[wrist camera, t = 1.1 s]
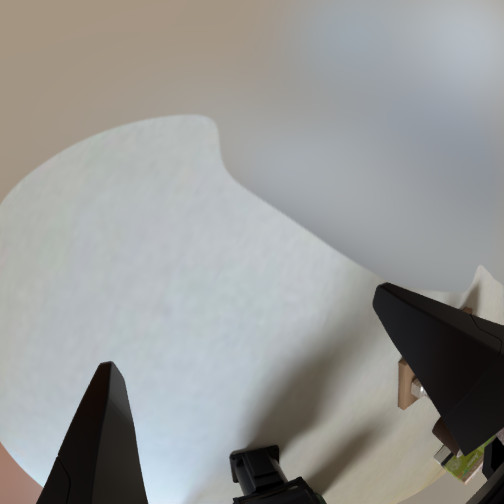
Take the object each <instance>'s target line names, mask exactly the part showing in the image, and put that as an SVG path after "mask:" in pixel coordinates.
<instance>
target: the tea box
mask: <svg viewBox="0 0 504 504" xmlns="http://www.w3.org/2000/svg"><path fill="white" fill-rule="evenodd" d="M494 436H495V435H494ZM494 436H493V437H494ZM493 437H491V438H490V439H489V440H488V441H486V442H485V443H484V444H482V445H481V446H480V447H478V448H477V449H476V450H474V451H473V452H471V453H470V454H468V455H467V456H464V455H463V454H462V455H461V456H460V457H458V458H457V457H456V456H455V455H454V454H453V453H452V452H451V451H450V450H449V449H448V448H447V447H446V446H445V445H444V446H443V447H442V448H441V450H440V451H439V452H438V453H437V454H436V455H435V456H434V459H435V460H436V461H437V462H438V463H439V464H440V465H441V466H442V467H443V468H445V469H446V470H447V471H448V472H449V473H451V474H452V475H453V476H454V477H456V478H457V479H458V480H459V481H461V482H462V483H463V484H465V485H467V484H468V483H469V481H470V480H471V479H472V478H473V477H474V476H475V475H476V474H477V473H478V471H479V470H480V469H481V468H482V467H483V458H484V447H485V446H486V445H487V444H488V443H489V442H490V440H491V439H492V438H493Z"/></svg>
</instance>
